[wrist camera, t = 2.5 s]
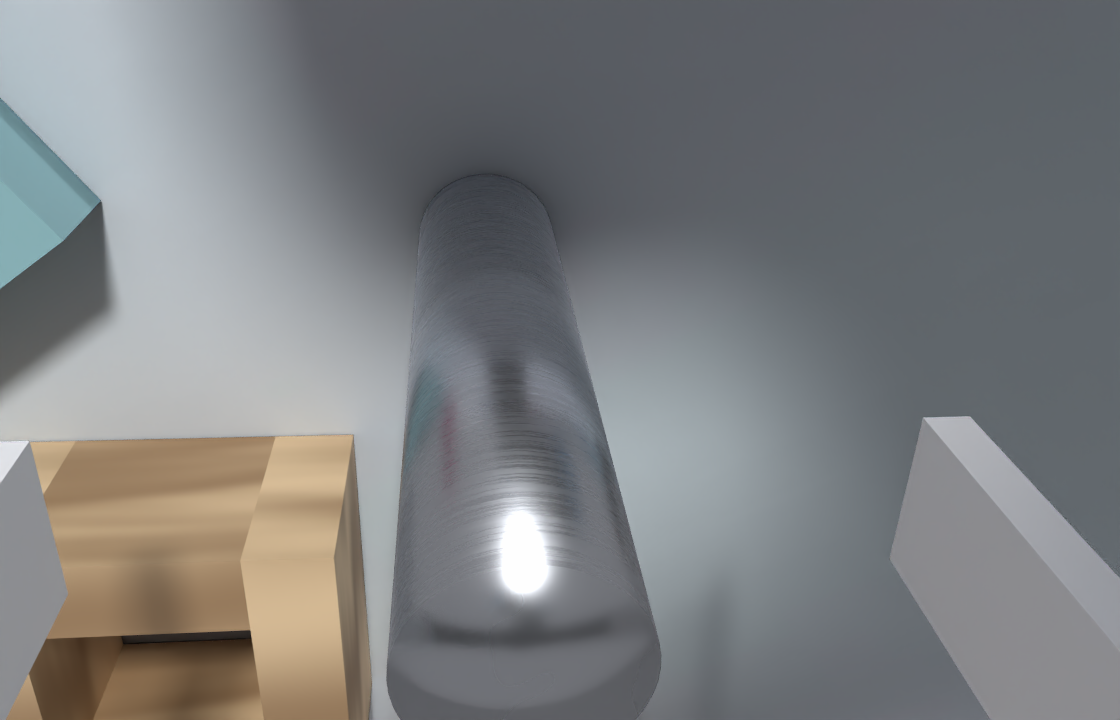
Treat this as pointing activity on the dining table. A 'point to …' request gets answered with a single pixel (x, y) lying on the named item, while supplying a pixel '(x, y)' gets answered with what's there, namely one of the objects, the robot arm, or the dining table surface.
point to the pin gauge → (508, 488)
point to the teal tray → (34, 197)
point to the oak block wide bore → (204, 581)
